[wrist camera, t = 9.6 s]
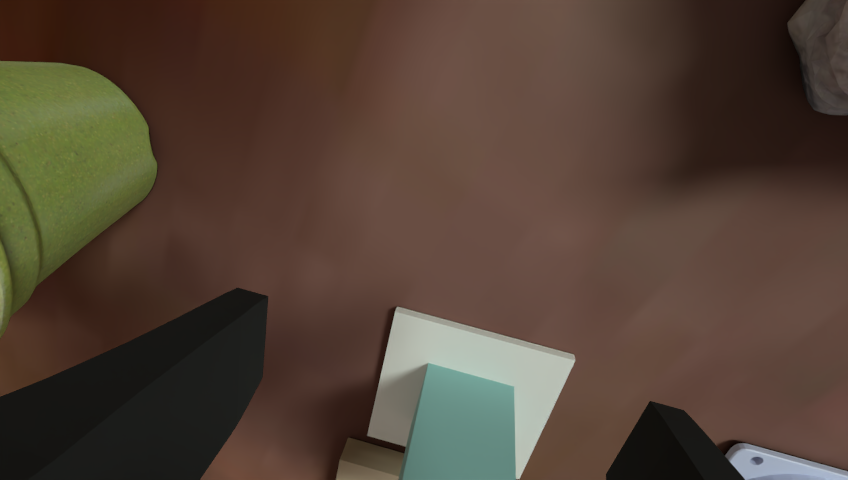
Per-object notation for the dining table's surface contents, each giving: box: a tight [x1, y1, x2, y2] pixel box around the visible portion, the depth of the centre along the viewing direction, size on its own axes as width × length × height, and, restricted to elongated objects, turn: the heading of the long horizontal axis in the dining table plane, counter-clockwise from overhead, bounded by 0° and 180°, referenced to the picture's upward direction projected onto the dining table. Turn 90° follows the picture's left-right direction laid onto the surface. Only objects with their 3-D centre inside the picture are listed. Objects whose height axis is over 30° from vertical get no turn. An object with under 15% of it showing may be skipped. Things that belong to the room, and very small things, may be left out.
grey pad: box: [367, 307, 575, 479], centre depth 22 cm, size 8×8×1 cm
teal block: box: [398, 363, 516, 480], centre depth 19 cm, size 4×4×7 cm
